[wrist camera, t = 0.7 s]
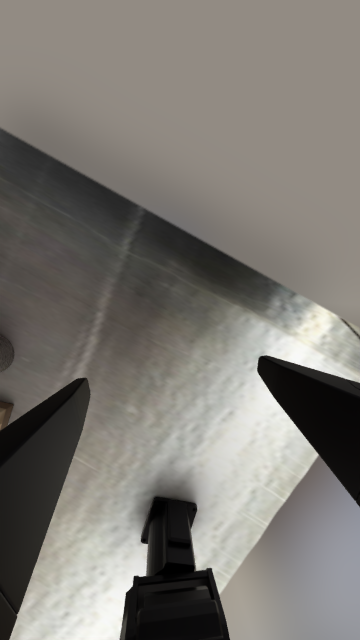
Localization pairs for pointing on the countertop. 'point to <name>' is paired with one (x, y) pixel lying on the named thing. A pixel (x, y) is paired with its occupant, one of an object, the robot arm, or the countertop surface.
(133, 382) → the countertop surface
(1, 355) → the steel peg
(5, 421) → the block
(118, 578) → the countertop surface
